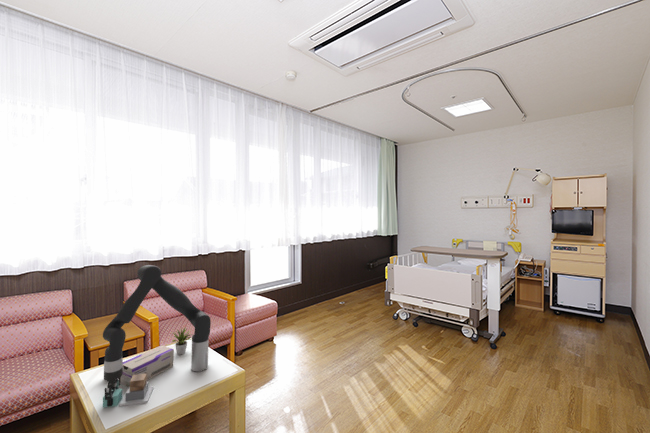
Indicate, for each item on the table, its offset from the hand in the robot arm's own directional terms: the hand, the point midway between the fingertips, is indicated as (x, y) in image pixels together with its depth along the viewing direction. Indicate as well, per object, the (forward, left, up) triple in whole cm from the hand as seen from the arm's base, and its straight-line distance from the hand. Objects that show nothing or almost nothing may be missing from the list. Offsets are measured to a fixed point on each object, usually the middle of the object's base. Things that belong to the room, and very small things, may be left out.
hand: (112, 401), depth 147 cm
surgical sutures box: (-10, -23, -1) cm, 25 cm away
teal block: (0, 0, -1) cm, 1 cm away
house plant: (-23, -45, -1) cm, 51 cm away
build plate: (-10, -2, -1) cm, 10 cm away
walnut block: (-10, -2, +4) cm, 11 cm away
